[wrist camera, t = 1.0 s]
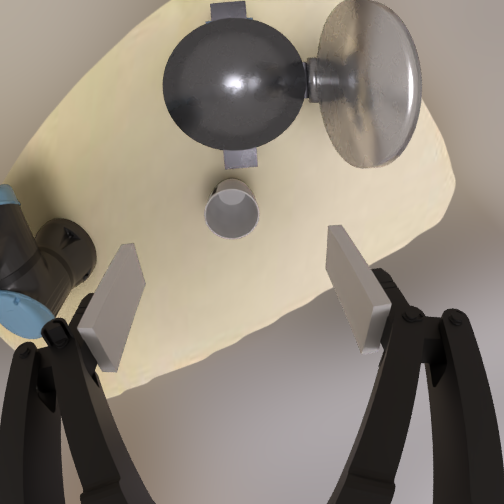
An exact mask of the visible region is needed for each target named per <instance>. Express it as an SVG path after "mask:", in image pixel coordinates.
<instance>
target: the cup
mask: <svg viewBox="0 0 504 504" xmlns="http://www.w3.org/2000/svg"><path fill="white" fill-rule="evenodd" d="M204 217H205V221H206V224H207V226H208V228H209V229H210V230H211V231H212V232H213V233H214V234H216V235H217V236H219V237H222V238H225V239H238V238H242V237H244V236H246V235H248V234H249V233H251V232H252V231H253V230H254V228H255V227H256V225H257V223H258V220H259V208H258V205H257V202H256V199H255V197H254V194H253V193H252V191H251V190H250V189H249V187H248V186H247V185H246V184H245V183H244V182H242V181H240V180H237V179H226V180H224V181H222V182H220V183H219V184H218V185H217V186H216V187H215V188H214V190H213V191H212V192H211V194H210V196H209V199H208V202H207V204H206V207H205V212H204Z"/></svg>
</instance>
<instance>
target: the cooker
mask: <svg viewBox="0 0 504 504" xmlns="http://www.w3.org/2000/svg"><path fill="white" fill-rule="evenodd" d="M210 7H211V20H212V21H208V22H206V24H204V25H202V26H200V27H198V28H197V29H195V30H193V31H192V32H191V33H189V34H188V35H187V36H185V37H184V38H183V39H182V40H181V41H180V42H179V44H178V45H177V46H176V48H175V49H174V50H173V52H172V54H171V55H170V57H169V59H168V62H167V64H166V67H165V71H164V76H163V94H164V100H165V103H166V106H167V109H168V111H169V113H170V115H171V117H172V119H173V120H174V121H175V123H176V124H177V125H178V127H179V128H180V129H181V130H182V131H183V132H184V133H186V134H187V135H188V136H189V137H191V138H192V139H194V140H195V141H197V142H199V143H201V144H203V145H205V146H208V147H211V148H215V149H220V150H223V152H224V162H225V169H235V168H246V167H258V164H257V149H256V147H259V146H261V145H264V144H266V143H268V142H270V141H272V140H273V139H275V138H276V137H278V136H279V135H280V134H282V133H283V132H284V131H285V130H286V129H287V128H288V127H289V126H290V125H291V124H292V122H293V121H294V120H295V118H296V116H297V115H298V113H299V111H300V109H301V107H302V104H303V101H304V98H309V86H308V67H307V62H302V60H301V58H300V56H299V54H298V52H297V50H296V49H295V47H294V46H293V45H292V43H291V42H290V41H289V40H288V39H287V38H286V37H285V36H284V35H283V34H281V33H280V32H279V31H277V30H276V29H274V28H272V27H271V26H269V25H267V24H264V23H262V22H259V21H256V20H253V18H247V17H246V5H245V1H235V2H223V3H213V4H210Z"/></svg>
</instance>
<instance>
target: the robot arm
mask: <svg viewBox="0 0 504 504" xmlns="http://www.w3.org/2000/svg"><path fill="white" fill-rule="evenodd" d="M20 205H21V204H20V202H19V201H18V200H17V198H16V196H15V193H14V191H13V189H12V188H11V186H9V185H7V184H2V185H0V323H1V324H2V325H3V326H4V327H5V328H6V329H8V330H9V331H11V332H12V333H14V334H16V335H18V336H20V337H23V338H27V339H38V338H40V337H43V338H44V340H45V342H46V343H47V345H48V347H44V348H40V349H37V347H36V346H35V344H34V343H32V342H25V343H23V344H21V345H20V346H18V348H17V349H16V350H15V352H14V355H13V359H12V363H11V367H10V372H9V377H8V382H7V387H6V392H5V397H4V403H3V409H2V416H1V425H0V504H65V498H64V488H63V476H62V461H61V417H62V421H63V425H64V429H65V433H66V437H67V440H68V444H69V448H70V451H71V454H72V457H73V460H74V464H75V467H76V470H77V473H78V476H79V479H80V481H81V484H82V487H83V493H82V494H81V495H80V501H81V504H156V503H155V502H154V501H153V500H152V498H151V496H150V495H149V493H148V491H147V489H146V487H145V486H144V484H143V482H142V480H141V478H140V476H139V474H138V472H137V470H136V468H135V466H134V464H133V462H132V460H131V458H130V455H129V453H128V451H127V449H126V447H125V444H124V443H123V440H122V438H121V435H120V433H119V431H118V428H117V426H116V424H115V421H114V419H113V416H112V413H111V411H110V408H109V406H108V403H107V400H106V397H105V395H104V392H103V389H102V386H101V383H100V380H99V377H98V375H97V373H96V372H95V368H96V366H97V364H98V366H99V367H100V369H101V370H102V372H117V370H118V367H119V364H120V360H121V357H122V353H123V350H124V347H125V344H126V341H127V337H128V334H129V331H130V328H131V325H132V322H133V319H134V316H135V313H136V310H137V307H138V304H139V301H140V298H141V296H142V293H143V290H144V287H145V284H146V283H145V280H144V277H143V273H142V270H141V267H140V263H139V260H138V256H137V253H136V249H135V246H134V243H131V244H122V245H121V246H120V248H119V250H118V251H117V253H116V255H115V257H114V258H113V260H112V262H111V264H110V265H109V267H108V269H107V271H106V273H105V274H104V276H103V278H102V280H101V282H100V284H99V285H98V287H97V289H96V291H95V293H89V294H88V295H87V296H85V297H84V298H83V299H82V301H81V303H80V304H79V306H78V309H77V310H76V312H75V314H74V316H73V318H72V320H71V322H70V324H69V326H68V324H67V322H66V321H65V319H63V318H56V316H57V314H58V312H59V310H60V309H61V307H62V305H63V303H64V302H65V300H66V298H67V296H68V295H69V293H70V291H71V290H72V289H73V288H75V287H76V286H78V285H79V284H81V283H82V282H84V281H85V280H86V279H87V278H88V277H89V276H90V274H91V273H92V271H93V269H94V267H95V264H96V251H95V247H94V245H93V242H92V241H91V239H90V237H89V236H88V234H87V233H86V232H85V231H84V230H83V229H82V228H81V227H80V226H78V225H77V224H75V223H74V222H72V221H69V220H66V219H53V220H50V221H48V222H47V223H46V224H45V225H44V226H42V227H41V229H40V230H39V231H38V233H37V234H36V237H35V239H34V237H33V235H32V233H31V231H30V228H29V226H28V224H27V222H26V219H25V217H24V215H23V213H22V210H21V208H20ZM326 271H327V273H328V275H329V277H330V280H331V282H332V284H333V287H334V289H335V291H336V294H337V296H338V298H339V301H340V303H341V305H342V308H343V310H344V312H345V315H346V317H347V320H348V322H349V325H350V327H351V330H352V332H353V335H354V337H355V339H356V342H357V345H358V347H359V349H360V352H361V354H362V355H363V354H369V353H374V352H378V349H379V346H380V343H381V344H382V347H383V349H384V352H383V355H382V358H381V360H380V363H379V369H378V373H377V377H376V380H375V383H374V386H373V390H372V393H371V396H370V399H369V402H368V405H367V408H366V412H365V414H364V417H363V420H362V423H361V426H360V429H359V431H358V434H357V437H356V439H355V442H354V445H353V447H352V450H351V452H350V455H349V457H348V460H347V462H346V465H345V467H344V469H343V472H342V474H341V476H340V479H339V481H338V483H337V485H336V487H335V489H334V492H333V493H332V496H331V497H330V499H329V501H328V503H327V504H390V503H391V501H392V498H393V495H394V492H395V484H394V478H395V475H396V472H397V469H398V465H399V462H400V458H401V455H402V451H403V448H404V444H405V440H406V436H407V432H408V428H409V424H410V419H411V415H412V410H413V405H414V400H415V395H416V390H417V384H418V378H419V372H420V365H421V363H425V369H426V375H427V384H428V392H429V402H430V412H431V424H432V440H433V470H434V471H433V478H434V479H433V482H434V483H433V504H504V467H503V458H502V450H501V443H500V436H499V430H498V424H497V419H496V414H495V409H494V404H493V400H492V395H491V392H490V387H489V383H488V379H487V375H486V371H485V368H484V365H483V361H482V357H481V354H480V351H479V348H478V345H477V341H476V338H475V336H474V332H473V329H472V327H471V324H470V321H469V319H468V317H467V315H466V314H465V313H463V312H462V311H460V310H458V309H453V308H452V309H447V310H445V311H444V313H443V314H442V317H441V318H440V317H428V316H425V314H424V313H423V312H422V311H421V310H420V309H418V308H417V307H414V306H410V305H409V304H408V302H407V301H406V299H405V297H404V296H403V294H402V293H401V291H400V290H399V288H397V286H396V284H395V283H394V282H393V280H392V278H391V276H390V275H389V274H388V273H387V272H385V271H384V270H383V269H381V268H377V269H370V267H369V266H368V264H367V263H366V261H365V259H364V258H363V256H362V255H361V253H360V252H359V250H358V249H357V247H356V246H355V244H354V243H353V241H352V240H351V238H350V237H349V235H348V234H347V232H346V231H345V229H344V228H343V226H342V225H332V226H328V238H327V254H326Z"/></svg>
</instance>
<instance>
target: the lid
mask: <svg viewBox="0 0 504 504" xmlns="http://www.w3.org/2000/svg"><path fill="white" fill-rule="evenodd" d="M307 67H308V86H309V102H312V103H319V104H320V109H321V114H322V118H323V121H324V125H325V128H326V131H327V133H328V135H329V138H330V140H331V142H332V144H333V146H334V147H335V149H336V151H337V152H338V153H339V155H340V156H341V157H342V158H343V159H344V160H345V161H346V162H347V163H349V164H350V165H352V166H354V167H357V168H378V167H383V166H386V165H388V164H390V163H392V162H393V161H394V160H396V159H397V158H398V157H399V156H400V155H401V153H402V152H403V151H404V150H405V148H406V147H407V145H408V143H409V141H410V139H411V137H412V135H413V133H414V130H415V128H416V124H417V121H418V117H419V112H420V106H421V97H422V77H421V68H420V62H419V57H418V54H417V50H416V47H415V44H414V42H413V40H412V37H411V35H410V33H409V31H408V29H407V27H406V26H405V24H404V23H403V21H402V20H401V19H400V17H399V16H398V15H397V14H396V13H395V12H394V11H393V10H392V9H390V8H388V7H387V6H385V5H384V4H382V3H379V2H376V1H372V0H344V1H343V2H341V3H339V4H338V5H337V6H336V7H335V8H334V9H333V11H332V12H331V13H330V15H329V16H328V18H327V20H326V22H325V25H324V27H323V30H322V33H321V37H320V41H319V47H318V54H317V58H307Z"/></svg>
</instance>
